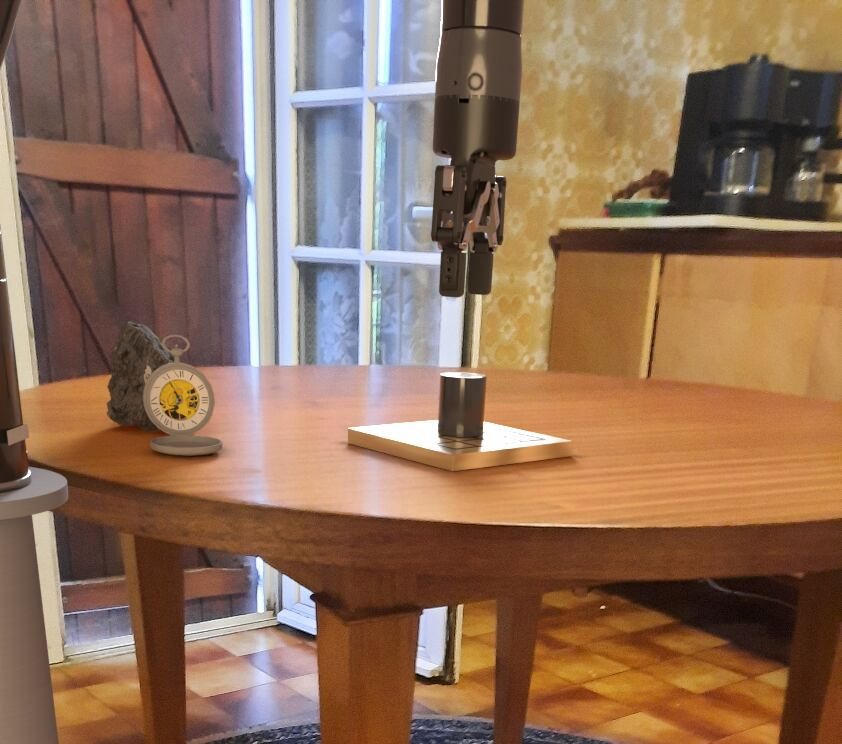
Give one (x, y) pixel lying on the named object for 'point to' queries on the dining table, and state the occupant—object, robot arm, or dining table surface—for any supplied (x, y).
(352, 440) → the board
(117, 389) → the rock
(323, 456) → the dining table surface
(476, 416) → the cylinder
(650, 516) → the dining table surface
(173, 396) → the pocket watch
